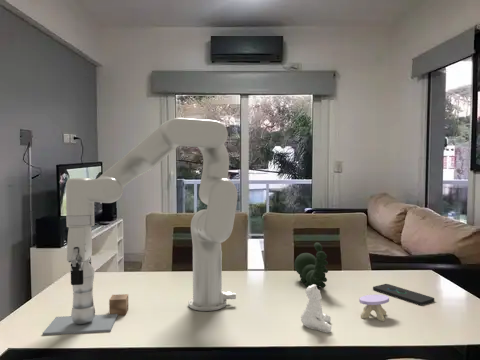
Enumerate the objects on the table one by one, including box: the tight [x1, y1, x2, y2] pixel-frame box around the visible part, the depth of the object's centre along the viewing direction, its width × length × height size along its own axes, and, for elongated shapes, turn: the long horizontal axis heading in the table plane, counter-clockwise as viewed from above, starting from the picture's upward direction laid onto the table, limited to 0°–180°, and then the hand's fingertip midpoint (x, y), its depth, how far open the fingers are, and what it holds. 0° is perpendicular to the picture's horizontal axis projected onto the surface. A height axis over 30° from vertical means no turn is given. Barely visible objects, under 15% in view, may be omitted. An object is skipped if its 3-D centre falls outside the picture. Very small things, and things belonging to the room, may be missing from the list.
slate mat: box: [42, 313, 119, 336], centre depth 119 cm, size 18×12×1 cm, turn 98°
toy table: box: [358, 294, 390, 322], centre depth 126 cm, size 10×9×6 cm
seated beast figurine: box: [300, 284, 332, 334], centre depth 118 cm, size 10×9×12 cm
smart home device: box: [372, 283, 435, 306], centre depth 145 cm, size 8×2×20 cm
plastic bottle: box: [70, 257, 96, 324], centre depth 119 cm, size 6×7×20 cm
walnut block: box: [108, 293, 129, 316], centre depth 129 cm, size 5×5×5 cm
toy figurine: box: [293, 242, 329, 289], centre depth 159 cm, size 9×19×25 cm
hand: (81, 279), depth 118 cm, fingers open, 9 cm apart
